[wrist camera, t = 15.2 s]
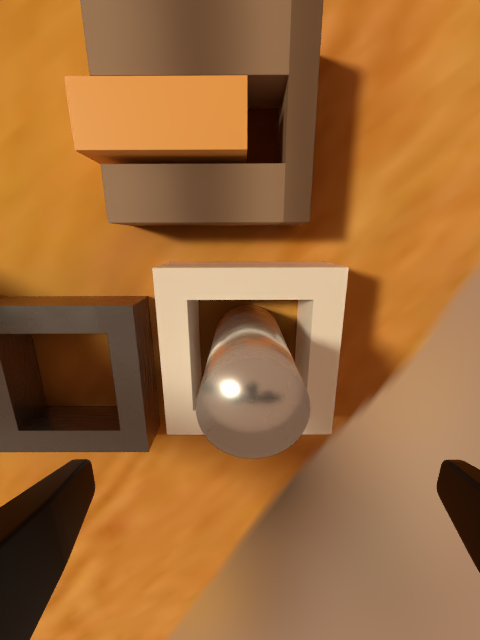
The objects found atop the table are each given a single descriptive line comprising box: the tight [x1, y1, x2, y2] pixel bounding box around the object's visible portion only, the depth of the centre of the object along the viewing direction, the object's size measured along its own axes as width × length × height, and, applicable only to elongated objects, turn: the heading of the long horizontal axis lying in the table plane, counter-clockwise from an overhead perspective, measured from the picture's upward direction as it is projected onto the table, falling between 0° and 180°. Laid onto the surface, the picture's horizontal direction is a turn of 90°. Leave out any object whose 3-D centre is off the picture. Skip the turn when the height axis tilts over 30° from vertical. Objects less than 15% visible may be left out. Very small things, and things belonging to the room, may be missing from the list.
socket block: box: [0, 296, 160, 452], centre depth 17 cm, size 9×9×2 cm
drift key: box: [64, 75, 247, 164], centre depth 13 cm, size 7×2×4 cm, turn 90°
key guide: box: [80, 0, 323, 226], centre depth 13 cm, size 9×8×3 cm
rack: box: [152, 262, 349, 435], centre depth 16 cm, size 9×9×4 cm
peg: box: [196, 305, 310, 459], centre depth 14 cm, size 4×4×8 cm
